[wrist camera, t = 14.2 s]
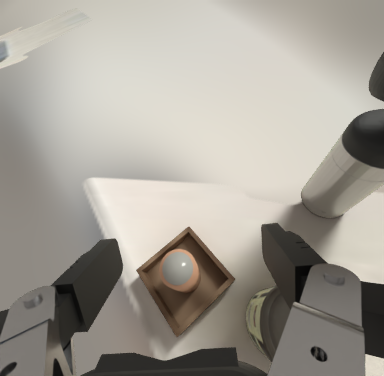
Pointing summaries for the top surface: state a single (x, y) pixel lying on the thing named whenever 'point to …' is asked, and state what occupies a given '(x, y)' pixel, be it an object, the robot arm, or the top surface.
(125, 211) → the top surface
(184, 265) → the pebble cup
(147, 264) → the walnut tray
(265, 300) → the coffee can
